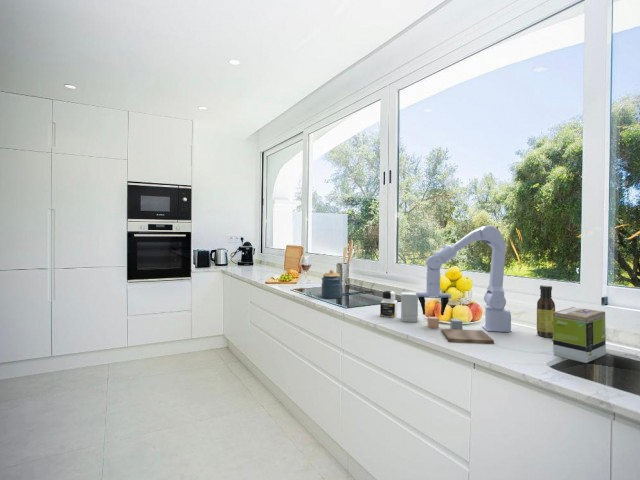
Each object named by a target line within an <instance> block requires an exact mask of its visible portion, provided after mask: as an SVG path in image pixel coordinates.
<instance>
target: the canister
mask: <svg viewBox="0 0 640 480" xmlns="http://www.w3.org/2000/svg"><path fill="white" fill-rule="evenodd" d="M321 280H322V282H321V293H320V295H321V298H323V299H335V300H336V299H341V298H342V277H341V274H339V273H338V272H334V270H333V269H329V272H325V273H324V274H322V277H321Z"/></svg>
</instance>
